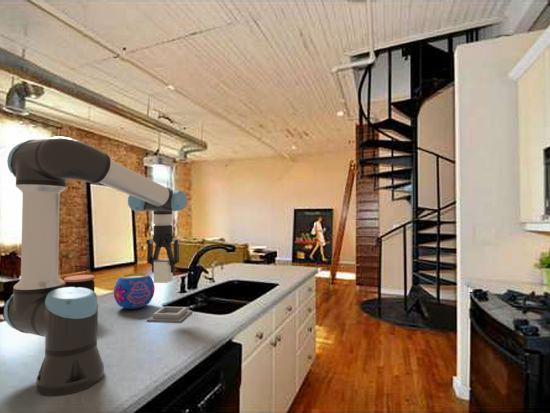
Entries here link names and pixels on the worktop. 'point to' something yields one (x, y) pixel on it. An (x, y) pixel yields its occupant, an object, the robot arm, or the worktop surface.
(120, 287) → the ceramic pot
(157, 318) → the socket plate
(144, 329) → the worktop surface
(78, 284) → the coffee jar
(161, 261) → the plug block
